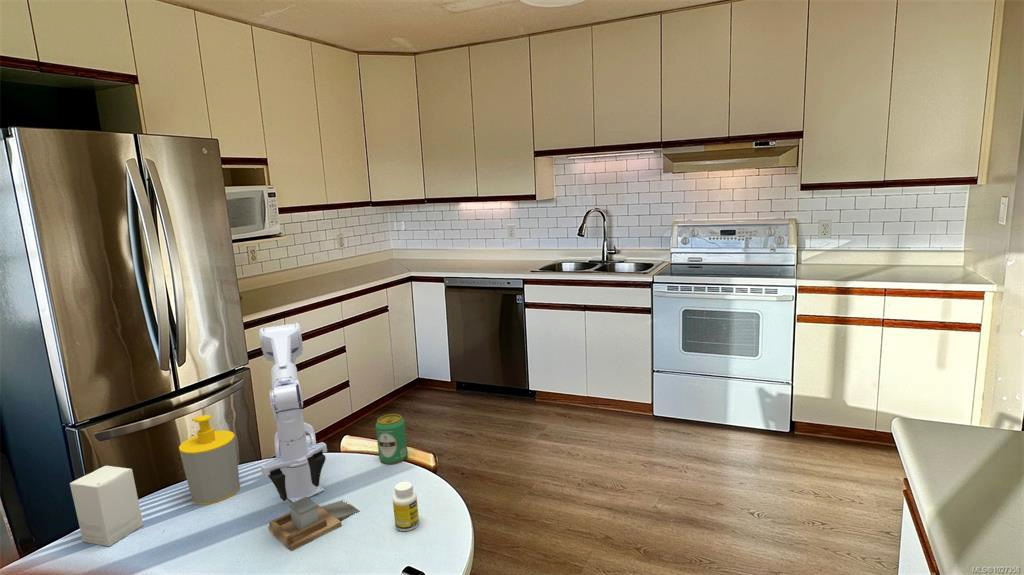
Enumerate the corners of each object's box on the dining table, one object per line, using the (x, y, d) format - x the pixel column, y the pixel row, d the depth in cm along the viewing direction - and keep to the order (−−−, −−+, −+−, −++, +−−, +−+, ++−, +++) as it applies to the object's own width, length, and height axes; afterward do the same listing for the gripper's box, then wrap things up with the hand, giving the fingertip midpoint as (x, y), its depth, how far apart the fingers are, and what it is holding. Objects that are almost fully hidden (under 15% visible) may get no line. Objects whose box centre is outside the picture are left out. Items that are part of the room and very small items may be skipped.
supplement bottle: (414, 532, 129) (410, 492, 127) (391, 531, 130) (387, 491, 129) (422, 518, 134) (418, 480, 133) (400, 517, 136) (396, 479, 134)
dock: (269, 532, 134) (267, 520, 134) (339, 499, 147) (338, 488, 146) (292, 553, 126) (290, 540, 125) (364, 516, 138) (363, 504, 138)
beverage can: (375, 464, 163) (370, 424, 161) (385, 451, 170) (381, 413, 168) (402, 465, 161) (397, 424, 159) (411, 451, 169) (407, 413, 167)
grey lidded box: (291, 523, 134) (288, 504, 133) (308, 515, 137) (305, 496, 136) (302, 533, 130) (299, 513, 129) (320, 524, 133) (317, 504, 132)
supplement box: (145, 525, 140) (133, 467, 137) (109, 547, 132) (96, 487, 129) (118, 520, 143) (106, 464, 140) (81, 542, 135) (68, 482, 132)
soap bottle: (218, 477, 161) (205, 405, 158) (254, 483, 157) (242, 409, 153) (176, 502, 150) (162, 425, 146) (213, 509, 145) (199, 430, 141)
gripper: (267, 453, 122) (276, 512, 125) (330, 429, 132) (337, 484, 135) (254, 444, 127) (262, 500, 130) (315, 422, 137) (323, 474, 140)
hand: (300, 491), depth 132 cm, fingers open, 7 cm apart
